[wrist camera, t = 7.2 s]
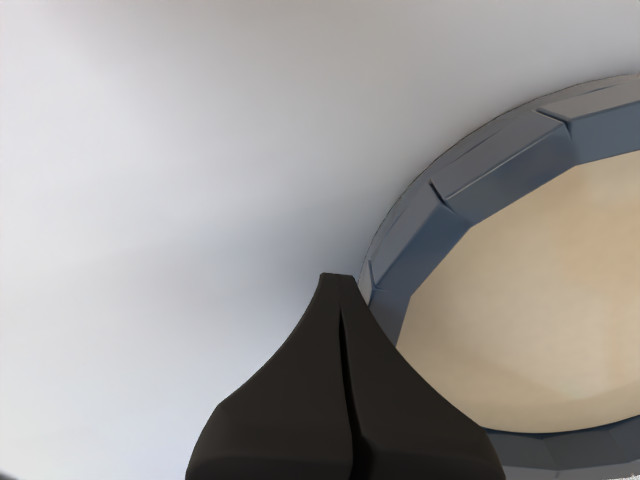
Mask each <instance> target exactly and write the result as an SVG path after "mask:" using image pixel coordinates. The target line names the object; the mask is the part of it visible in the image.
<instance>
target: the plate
mask: <svg viewBox="0 0 640 480" xmlns="http://www.w3.org/2000/svg"><path fill="white" fill-rule="evenodd" d="M358 288H359V290H360V292H361V294H362V296H363V298H364V300H365V302H366V304H367V305H368V307H369V309H370V311H371V312H372V314H373V316H374V317H375V319H376V321H377V322H378V324H379V325H380V327H381V328H382V330H383V331H384V333H385V334H386V335H387V337H388V338H389V340H390V341H391V342H392V344H393V345H394V346H395V348H396V349H397V350H398V351H399V352H400V354H401V355H402V356H403V357H404V359H405V360H406V361H407V362H408V363H409V364H410V365H411V366H412V367H413V368H414V369H415V370H416V371H417V372H418V373H419V374H420V375H421V376H422V378H423V379H424V380H425V381H426V382H427V383H428V384H430V385H431V386H432V387H433V388H434V389H435V390H436V391H437V392H438V393H439V394H441V395H442V396H443V397H444V398H445V399H446V400H447V401H449V402H450V403H451V404H452V405H453V406H455V407H456V408H457V409H458V410H460V411H461V412H462V413H464V414H465V415H466V416H468V417H469V418H470V419H472V420H473V421H474V422H476V423H477V424H478V425H479V426H481V427H482V428H483V429H485V431H486V433H487V435H488V437H489V439H490V441H491V443H492V445H493V447H494V449H495V451H496V453H497V455H498V457H499V460H500V463H501V465H502V468H503V470H504V473H505V475H506V480H610V479H619V478H628V477H632V475H634V476H637V475H640V74H631V75H620V76H615V77H610V78H605V79H601V80H596V81H592V82H587V83H582V84H578V85H575V86H572V87H569V88H566V89H563V90H560V91H557V92H554V93H551V94H549V95H546V96H543V97H540V98H537V99H535V100H533V101H531V102H529V103H527V104H524V105H522V106H520V107H518V108H516V109H514V110H512V111H509V112H507V113H505V114H503V115H501V116H499V117H498V118H496V119H494V120H493V121H491V122H489V123H488V124H486V125H484V126H483V127H481V128H480V129H478V130H476V131H475V132H473V133H471V134H470V135H468V136H466V137H465V138H464V139H462V140H461V141H460V142H459V143H457V144H456V145H455V146H453V147H452V148H451V149H450V150H448V151H447V152H446V153H444V154H443V155H442V156H440V157H439V158H438V159H437V160H436V161H435V162H433V163H432V164H431V165H430V166H429V167H428V168H427V169H426V170H425V171H424V172H423V173H422V174H421V175H420V176H419V177H418V178H417V179H416V180H415V181H414V182H413V183H412V184H411V185H410V186H409V187H408V189H407V190H406V191H405V192H404V194H403V195H402V196H401V197H400V198H399V200H398V201H397V202H396V203H395V205H394V206H393V207H392V208H391V210H390V211H389V213H388V215H387V216H386V218H385V219H384V221H383V223H382V224H381V226H380V227H379V229H378V231H377V232H376V234H375V236H374V239H373V241H372V243H371V245H370V248H369V250H368V252H367V254H366V256H365V260H364V263H363V267H362V270H361V274H360V277H359V282H358Z"/></svg>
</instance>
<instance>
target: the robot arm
mask: <svg viewBox="0 0 640 480" xmlns="http://www.w3.org/2000/svg"><path fill="white" fill-rule="evenodd" d="M185 480H506V475H505V473H504V470H503V468H502V465H501V463H500V460H499V457H498V455H497V453H496V451H495V449H494V447H493V445H492V443H491V441H490V439H489V437H488V435H487V433H486V431H485V429H483V428H482V427H481V426H479V425H478V424H477V423H476V422H474V421H473V420H472V419H470V418H469V417H468V416H466V415H465V414H464V413H462V412H461V411H460V410H458V409H457V408H456V407H455V406H453V405H452V404H451V403H450V402H449V401H447V400H446V399H445V398H444V397H443V396H442V395H441V394H439V393H438V392H437V391H436V390H435V389H434V388H433V387H432V386H431V385H430V384H428V383H427V382H426V381H425V380H424V379H423V378H422V376H421V375H420V374H419V373H418V372H417V371H416V370H415V369H414V368H413V367H412V366H411V365H410V364H409V363H408V362H407V361H406V360H405V359H404V357H403V356H402V355H401V354H400V352H399V351H398V350H397V349H396V348H395V346H394V345H393V344H392V342H391V341H390V340H389V338H388V337H387V335H386V334H385V333H384V331H383V330H382V328H381V327H380V325H379V324H378V322H377V321H376V319H375V317H374V316H373V314H372V312H371V311H370V309H369V307H368V305H367V304H366V302H365V300H364V298H363V296H362V294H361V292H360V290H359V288H358V286H357V284H356V281H355V279H354V277H353V276H352V275H342V274H333V273H322V274H320V278H319V283H318V286H317V289H316V291H315V293H314V296H313V298H312V300H311V302H310V304H309V306H308V308H307V309H306V311H305V313H304V314H303V316H302V318H301V319H300V321H299V322H298V324H297V326H296V327H295V328H294V330H293V331H292V333H291V334H290V335H289V337H288V338H287V339H286V341H285V342H284V343H283V344H282V346H281V347H280V348H279V349H278V350H277V351H276V353H275V354H274V355H273V356H272V357H271V358H270V359H269V360H268V361H267V362H266V363H265V364H264V366H262V367H261V368H260V369H259V370H258V371H257V372H256V373H255V374H254V375H253V376H252V377H251V378H250V379H249V380H248V381H247V382H245V383H244V384H243V385H242V386H241V387H240V388H238V389H237V390H236V391H235V392H233V393H232V394H231V395H229V396H228V397H227V398H226V399H224V400H223V401H222V402H221V403H219V404H218V405H217V407H216V408H215V410H214V411H213V413H212V415H211V416H210V418H209V420H208V421H207V423H206V425H205V427H204V428H203V430H202V432H201V434H200V436H199V438H198V441H197V443H196V445H195V447H194V450H193V452H192V455H191V458H190V461H189V464H188V467H187V470H186V475H185Z"/></svg>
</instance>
